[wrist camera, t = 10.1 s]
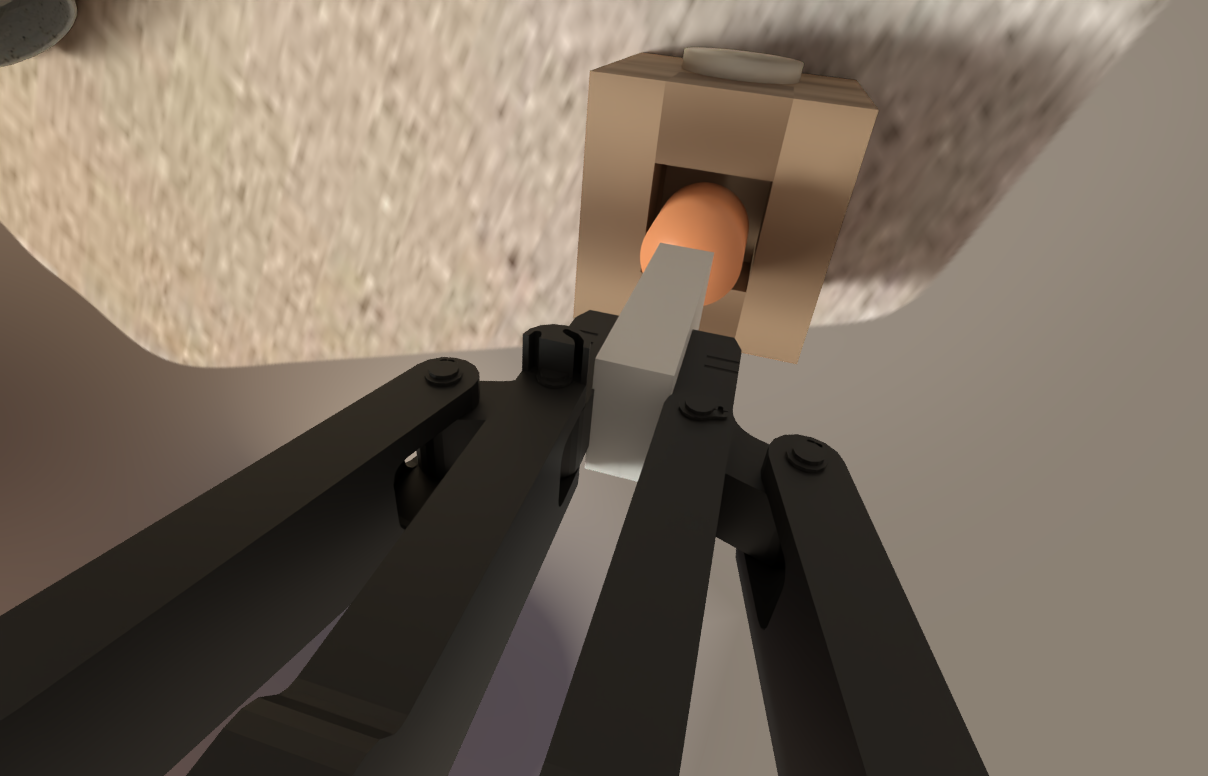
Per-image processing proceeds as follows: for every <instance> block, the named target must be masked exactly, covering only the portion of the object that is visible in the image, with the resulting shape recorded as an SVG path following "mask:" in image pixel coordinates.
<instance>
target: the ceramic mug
mask: <svg viewBox="0 0 1208 776" xmlns="http://www.w3.org/2000/svg"><path fill="white" fill-rule="evenodd" d="M76 17H77V7H76V3H75V0H0V67H3V66H8V65H12V64H15V63H18V62H21V61H23V60H26V59H29V58H31V57H34V56H36V55H38V54H39V53H42V52H44V51H46V50H48V49H49V48H51V47H52V46H54V45H55V44H56V43H57V42H59V41H60V40H61V39H62V38H63V37H64V36H65V35H66V34H67V32H68V31H69V30H70V29H71V27H72V26H73V24H74V22H75V19H76Z"/></svg>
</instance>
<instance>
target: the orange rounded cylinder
mask: <svg viewBox="0 0 1208 776" xmlns="http://www.w3.org/2000/svg"><path fill="white" fill-rule="evenodd" d="M748 232H749V220H748V215H747V212H746V209H745V207H744V205H743V204H742V202H741V201H740V199H739V198H738V197H737V196H736V195H735V194H734V193H733V192H732V191H730V190H729V189H727V188H725V187H724V186H721V185H718V184H715V183H709V182H699V183H693V184H690V185H687V186H685V187H683V188H681V189H679V190H678V191H676V192H675V193H674V194H673V195H672V196H671V197H670V198H669V199H668V200H667V202H666V203H665V205H664V206H663V208H662V210H661V211H660V213H659V214H658V216H657V217H656V219H655V221H654V222H653V224H652V225H651V227H650V229H649V230H648V232H647V233H646V235H645V237H644V240H643V242H642V246H641V251H640V264H641V269H642V272H644V271H645V269H646V267H647V265H648V263H649V262H650V260H651V258H652V256H653V255H654V253H655V251H656V249H657V247H658V246H659V244H660V243H665V244H671V245H676V246H682V247H687V248H693V249H698V250H704V251H709V252H714V256H713V261H712V266H711V271H710V276H709V281H708V286H707V291H706V296H705V300H704V305H703V306H705V305H709V304H711V303H714V302H716V301H718V300H720V299H721V298H722V297H724V296H725V295H726V294H727V293H728V292H729V291H730V290H731V289H732V288H733V287H734V285H735V283H736V282H737V280H738V278H739V275H740V272H741V268H742V263H743V258H744V253H745V248H746V243H747V238H748Z"/></svg>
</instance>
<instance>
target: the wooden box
mask: <svg viewBox="0 0 1208 776" xmlns="http://www.w3.org/2000/svg"><path fill="white" fill-rule="evenodd" d="M803 65H804V63H803V62H801V61H798V60H795V59H791V58H786V57H781V56H775V55H769V54H763V53H756V52H748V51H740V50H731V49H720V48H703V47H691V48H685V49H684V56H683V58H680V57H672V56H664V55H657V54H649V53H639V54H636V55H633V56H630V57H628V58H625V59H622V60H619V61H616V62H614V63H611V64H608V65H605V66H602V67H600V68H597V69H594V70H591V71H590V77H589V92H588V107H587V122H586V136H585V151H584V166H583V181H582V196H581V211H580V226H579V241H578V256H577V271H576V286H575V301H574V316H573V318H575V317H577V316H579V315H581V314H583V313H585V312H587V311H588V310H594V311H599V312H604V313H609V314H613V315H618V316H619V315H620V313H621V312H622V310H623V308H624V306H625V304H626V303H627V301H628V299H629V297H630V296H631V294H632V292H633V290H634V288H635V287H636V285H637V283H638V281H639V280H640V278H641V276H642V274H643V272H642V269H641V264H640V251H641V246H642V242H643V240H644V237H645V235H646V233H647V232H648V230H649V229H650V227H651V225H652V224H653V222H654V221H655V219H656V217H657V216H658V214H659V213H660V211H661V210H662V208H663V206H664V205H665V203H666V202H667V200H668V199H669V198H670V197H671V196H672V195H673V194H674V193H675V192H676V191H678V190H679V189H681V188H683V187H685V186H687V185H690V184H693V183H699V182H709V183H715V184H718V185H721V186H724V187H725V188H727V189H729V190H730V191H732V192H733V193H734V194H735V195H736V196H737V197H738V198H739V199H740V201H741V202H742V204H743V205H744V207H745V209H746V212H747V215H748V220H749V232H748V238H747V243H746V248H745V253H744V258H743V263H742V268H741V272H740V275H739V278H738V280H737V282H736V283H735V285H734V287H733V288H732V289H731V290H730V291H729V292H728V293H727V294H726V295H725V296H724V297H722V298H721V299H720V300H718V301H716V302H714V303H711V304H709V305H705V306H703V310H702V315H701V320H700V325H699V331H704V332H709V333H714V334H718V335H723V336H728V337H733V338H735V340H736V341H737V343H738V345H739V346H740V348H741V350H742V352H741V353H745V354H751V355H755V356H760V357H765V358H770V359H775V360H779V361H784V362H789V363H793V364H797V362H798V359H799V356H800V353H801V350H802V347H803V343H804V340H805V337H806V334H807V331H808V328H809V325H810V322H811V319H812V316H813V312H814V309H815V306H816V303H817V300H818V297H819V294H820V291H821V288H822V285H823V281H824V278H825V275H826V272H827V269H828V266H829V263H830V260H831V257H832V254H833V250H834V247H835V244H836V241H837V238H838V235H839V232H840V229H841V226H842V223H843V219H844V216H845V213H846V210H847V207H848V204H849V201H850V198H851V195H852V191H853V188H854V185H855V182H856V179H857V176H858V173H859V170H860V167H861V164H862V160H863V157H864V154H865V151H866V148H867V145H868V142H869V139H870V136H871V133H872V129H873V126H874V123H875V120H876V117H877V114H878V111H879V110H878V108H877V107H876V106H875V104H874V103H873V102H872V100H871V99H870V98H869V96H868V95H867V94H866V92H865V91H864V90H863V88H862V87H861V86H860V84H859V83H858V82H857V80H851V79H844V78H836V77H828V76H820V75H812V74H805V73H802V69H803Z"/></svg>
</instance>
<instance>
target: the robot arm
mask: <svg viewBox="0 0 1208 776" xmlns="http://www.w3.org/2000/svg"><path fill="white" fill-rule="evenodd" d="M713 256H714V252H709V251H704V250H698V249H693V248H687V247H682V246H676V245H671V244H665V243H660V244H659V246H658V247H657V249H656V251H655V253H654V255H653V256H652V258H651V260H650V262H649V263H648V265H647V267H646V269H645V271H644V272H643V274H642V276H641V278H640V280H639V281H638V283H637V285H636V287H635V288H634V290H633V292H632V294H631V296H630V297H629V299H628V301H627V303H626V304H625V306H624V308H623V310H622V312H621V313H620V315H619V316H618V315H613V314H609V313H604V312H599V311H594V310H588V311H587V312H585V313H583V314H581V315H579V316H577V317H575V319H574V320H573V322H572V323H571V324H570V326H565V325H556V324H550V325H540V326H537V327H534V328H531V329H529V330H528V331H526V332H525V333H524V334H523V356H522V358H523V359H522V372H521V373H520V374H519V376H518V377H517V378H516V380H513V381H479V372H478V370H477V368H476V367H475V366H474V365H473V364H471V363H469V362H468V361H466V360H461V359H458V358H451V357H450V358H448V357H441V358H436V359H430V360H427V361H424V362H422V363H420V364H417V365H416V366H414V367H413V368H411V369H409V370H408V371H406V372H404V373H403V374H401V375H399V376H398V377H396V378H394V379H393V380H391V381H389V382H388V383H386V384H384V385H383V386H381V387H379V388H378V389H376V390H374V391H373V392H371V393H369V394H368V395H366V396H365V397H363V398H361V399H359V400H358V401H356V402H355V403H353V404H351V405H349V406H348V407H346V408H344V409H343V410H341V411H340V412H338V413H336V414H335V415H333V416H331V417H330V418H328V419H326V420H325V421H323V422H321V423H320V424H318V425H316V426H315V427H313V428H311V429H310V430H308V431H306V432H305V433H303V434H301V435H300V436H298V437H296V438H295V439H293V440H292V441H290V442H288V443H287V444H285V445H283V446H281V447H280V448H278V449H276V450H275V451H274V452H272V453H270V454H268V455H267V456H265V457H263V458H262V459H260V460H258V461H257V462H255V463H253V464H252V465H250V466H248V467H247V468H245V469H243V470H242V471H240V472H238V473H237V474H235V475H233V476H232V477H230V478H228V479H227V480H225V481H223V482H222V483H220V484H219V485H217V486H215V487H213V488H212V489H210V490H209V491H207V492H205V493H203V494H202V495H200V496H198V497H197V498H195V499H193V500H192V501H190V502H189V503H187V504H185V505H184V506H182V507H180V508H179V509H177V510H175V511H174V512H172V513H170V514H169V515H167V516H165V517H164V518H162V519H160V520H159V521H157V522H155V523H154V524H152V525H150V526H149V527H147V528H145V529H144V530H142V531H140V532H139V533H137V534H135V535H134V536H132V537H130V538H129V539H127V540H125V541H124V542H122V543H121V544H119V545H117V546H116V547H114V548H112V549H111V550H109V551H107V552H106V553H104V554H102V555H101V556H99V557H97V558H96V559H94V560H92V561H91V562H89V563H87V564H86V565H84V566H82V567H81V568H79V569H77V570H76V571H74V572H72V573H71V574H69V575H67V576H66V577H64V578H62V579H61V580H59V581H58V582H56V583H54V584H52V585H51V586H49V587H47V588H46V589H44V590H43V591H41V592H39V593H38V594H36V595H34V596H33V597H31V598H29V599H28V600H26V601H24V602H23V603H21V604H19V605H18V606H16V607H14V608H13V609H11V610H9V611H8V612H6V613H5V614H3V615H1V616H0V776H164V775H165V774H166V773H167V772H168V771H169V770H171V769H172V768H173V767H174V766H175V765H176V764H177V763H178V762H179V761H180V760H181V759H183V758H184V757H185V756H186V755H187V754H188V753H189V752H190V751H191V750H192V749H193V748H194V747H196V746H197V745H198V744H199V743H200V742H201V741H202V740H203V739H204V738H205V737H206V736H207V735H209V734H210V733H211V732H212V731H213V730H214V729H215V728H216V727H217V726H219V725H220V724H221V723H222V722H223V721H224V720H225V719H226V718H227V717H228V716H229V715H231V714H232V713H233V712H234V711H235V710H236V709H237V708H238V707H239V706H240V705H241V704H243V703H244V702H245V701H246V700H247V699H248V698H249V697H250V696H251V695H252V694H253V693H254V692H256V691H257V690H258V689H259V688H260V687H261V686H262V685H263V684H264V683H265V682H267V681H268V680H269V679H270V678H271V677H272V676H273V675H274V674H275V673H276V672H277V671H278V670H280V669H281V668H282V667H283V666H284V665H285V664H286V663H287V662H288V661H289V660H291V659H292V658H293V657H294V656H295V655H296V654H297V653H298V652H299V651H300V650H301V649H303V648H304V647H305V646H306V645H307V644H308V643H309V642H310V641H311V640H312V639H313V638H315V636H317V635H318V634H319V633H320V632H321V631H322V630H323V629H324V628H325V627H326V626H327V625H329V624H330V623H331V622H332V621H333V620H334V619H335V618H336V617H337V616H338V615H340V614H341V613H342V612H343V611H344V610H345V609H346V608H347V607H348V606H349V605H350V604H351V605H350V606H349V607H348V609H347V610H346V611H345V613H344V614H343V616H342V617H341V618H340V620H339V621H338V622H337V624H336V625H335V627H334V628H333V630H332V631H331V632H330V633H329V635H328V636H327V637H326V639H325V640H324V641H323V643H322V644H321V646H320V647H319V648H318V650H317V651H316V652H315V654H314V655H313V657H312V658H311V659H310V661H309V662H308V663H307V665H306V666H305V667H304V669H303V670H302V671H301V673H300V674H299V676H298V677H297V678H296V679H295V680H294V682H293V683H292V684H291V685H290V686H289V687H288V688H287V689H286V690H284V691H283V692H282V693H280V694H277V695H272V696H264V697H258V698H257V699H255V700H254V701H252V702H251V703H249V704H248V705H246V706H245V707H243V708H242V709H241V710H240V711H239V712H238V713H237V714H236V715H235V716H234V717H233V719H231V721H230V722H229V723H228V724H227V725H226V726H225V727H224V728H223V729H222V731H221V732H220V733H219V734H218V736H217V737H216V738H215V740H214V741H213V742H212V743H211V745H210V746H209V747H208V748H207V750H206V751H205V752H204V754H203V755H202V756H201V757H200V759H199V760H198V761H197V763H196V764H195V765H194V766H193V768H192V769H191V770H190V771H189V773H188V774H187V775H186V776H448V774H449V771H450V769H451V767H452V765H453V763H454V761H455V758H456V756H457V754H458V751H459V749H460V747H461V745H462V743H463V740H464V738H465V736H466V734H467V731H468V729H469V727H470V725H471V722H472V720H473V718H474V716H475V713H476V711H477V709H478V707H479V704H480V702H481V700H482V698H483V695H484V693H485V691H486V689H487V687H488V684H489V682H490V680H491V677H492V675H493V673H494V671H495V669H496V666H497V664H498V662H499V660H500V657H501V655H502V653H503V651H504V649H505V646H506V644H507V642H508V640H509V637H510V635H511V632H512V631H513V628H514V626H515V624H516V622H517V619H518V617H519V615H520V613H521V610H522V608H523V606H524V604H525V601H526V599H527V597H528V595H529V593H530V590H531V588H532V586H533V584H534V581H535V579H536V577H537V575H538V572H539V570H540V568H541V565H542V563H543V561H544V559H545V557H546V554H547V552H548V550H549V548H550V545H551V543H552V541H553V539H554V537H555V534H556V532H557V530H558V528H559V525H560V523H561V521H562V518H563V516H564V514H565V512H566V509H567V507H568V505H569V503H570V501H571V498H572V496H573V494H574V492H575V489H576V487H577V485H578V478H579V468H580V464H581V462H582V459H583V457H584V455H585V453H586V460H585V468H586V469H589V470H593V471H597V472H602V473H605V474H609V475H613V476H617V477H621V478H625V479H629V480H633V481H637V486H636V488H635V492H634V494H633V497H632V501H631V503H630V507H629V509H628V512H627V515H626V518H625V521H624V524H623V527H622V530H621V533H620V536H619V539H618V542H617V545H616V549H615V551H614V554H613V557H612V561H611V564H610V566H609V569H608V573H607V575H606V578H605V581H604V585H603V588H602V591H601V594H600V596H599V599H598V602H597V606H596V608H595V611H594V614H593V617H592V621H591V623H590V626H589V629H588V633H587V636H586V638H585V642H584V645H583V647H582V651H581V654H580V656H579V660H578V662H577V665H576V668H575V671H574V674H573V678H572V681H571V683H570V686H569V689H568V693H567V696H566V698H565V702H564V704H563V708H562V710H561V714H560V716H559V719H558V722H557V725H556V728H555V731H554V735H553V737H552V741H551V743H550V746H549V750H548V753H547V755H546V758H545V761H544V764H543V767H542V770H541V773H540V776H679V773H680V766H681V760H682V753H683V747H684V740H685V734H686V726H687V720H688V714H689V708H690V701H691V694H692V688H693V681H694V675H695V668H696V662H697V655H698V648H699V642H700V636H701V629H702V622H703V616H704V610H705V603H706V596H707V590H708V583H709V577H710V570H711V564H712V557H713V551H714V544H715V538H716V537H717V538H719V539H721V540H723V541H724V542H726V543H728V544H730V545H732V546H734V547H735V548H736V561H737V567H738V572H739V577H740V582H741V586H742V592H743V597H744V603H745V608H746V613H747V618H748V623H749V628H750V633H751V638H752V644H753V649H754V653H755V659H756V664H757V669H758V674H759V679H760V685H761V690H762V694H763V700H764V705H765V710H766V715H767V720H768V726H769V731H770V736H771V741H772V746H773V751H774V756H775V761H776V767H777V772H778V776H989V775H988V772H987V770H986V768H985V766H984V764H983V761H982V759H981V757H980V755H979V753H978V751H977V748H976V746H975V744H974V742H973V740H972V738H971V735H970V733H969V731H968V729H967V727H966V725H965V722H964V720H963V718H962V716H961V714H960V712H959V709H958V707H957V705H956V703H955V701H954V699H953V697H952V694H951V692H950V690H949V688H948V686H947V684H946V681H945V679H944V677H943V675H942V673H941V670H940V668H939V666H938V664H937V662H936V660H935V657H934V655H933V653H932V651H931V649H930V646H929V644H928V642H927V640H926V638H925V636H924V634H923V631H922V629H921V627H920V625H919V623H918V621H917V618H916V616H915V614H914V612H913V610H912V607H911V605H910V603H909V601H908V599H907V597H906V594H905V592H904V590H903V588H902V586H901V584H900V581H899V579H898V577H897V575H896V573H895V571H894V568H893V567H892V564H891V562H890V560H889V558H888V556H887V553H886V551H885V549H884V547H883V545H882V542H881V540H880V538H879V536H878V534H877V532H876V530H875V527H874V525H873V523H872V521H871V519H870V516H869V514H868V512H867V510H866V508H865V506H864V503H863V501H862V499H861V497H860V495H859V493H858V490H857V488H856V486H855V484H854V482H853V480H852V477H851V475H850V473H849V471H848V469H847V466H846V464H845V462H844V461H843V459H842V458H841V457H840V455H839V454H838V452H836V451H835V450H834V449H832V448H831V447H830V446H828V445H827V444H826V443H823V442H821V441H819V440H816V439H814V438H812V437H807V436H802V435H798V434H795V435H783V436H780V437H778V438H775V439H774V440H773V441H772V442H771V443H770V445H769V444H767V443H765V442H763V441H761V440H759V439H757V438H755V437H753V436H751V435H749V434H748V433H747V432H745V431H744V430H743V429H742V428H741V427H740V426H739V425H738V424H737V422H736V421H735V418H734V416H733V404H734V397H735V391H736V384H737V378H738V371H739V364H740V358H741V352H742V350H741V348H740V346H739V345H738V343H737V341H736V340H735V338H733V337H728V336H723V335H718V334H714V333H709V332H704V331H699V325H700V320H701V315H702V310H703V305H704V300H705V296H706V291H707V286H708V281H709V276H710V271H711V266H712V261H713ZM415 451H417V456H416V457H415V458H413V459H412V460H411V461H408V462H406V463H405V461H404V460H405V459H406V458H407V457H408V456H410V455H411V454H412V453H414V452H415Z"/></svg>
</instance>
